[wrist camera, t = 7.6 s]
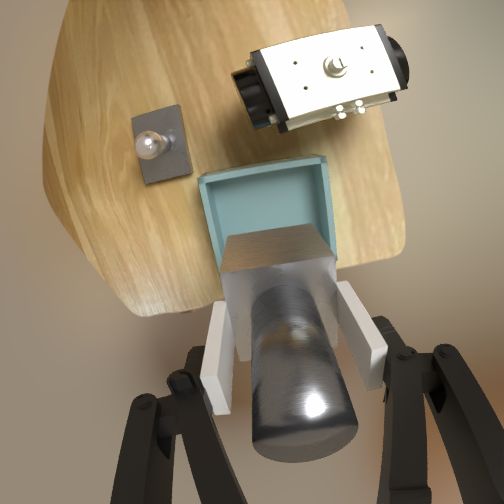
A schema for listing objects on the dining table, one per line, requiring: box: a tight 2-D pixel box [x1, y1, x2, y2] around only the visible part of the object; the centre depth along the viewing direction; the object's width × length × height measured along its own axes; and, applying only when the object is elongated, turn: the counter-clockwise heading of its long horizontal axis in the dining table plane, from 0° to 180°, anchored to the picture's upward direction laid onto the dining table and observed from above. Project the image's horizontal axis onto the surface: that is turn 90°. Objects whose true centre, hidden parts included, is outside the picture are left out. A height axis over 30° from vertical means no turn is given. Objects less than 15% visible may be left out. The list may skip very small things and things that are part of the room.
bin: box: [197, 154, 337, 271], centre depth 41 cm, size 14×16×6 cm
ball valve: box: [231, 24, 409, 135], centre depth 29 cm, size 18×8×18 cm, turn 111°
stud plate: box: [131, 104, 193, 184], centre depth 36 cm, size 10×7×9 cm
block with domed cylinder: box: [219, 223, 358, 463], centre depth 17 cm, size 7×7×16 cm
